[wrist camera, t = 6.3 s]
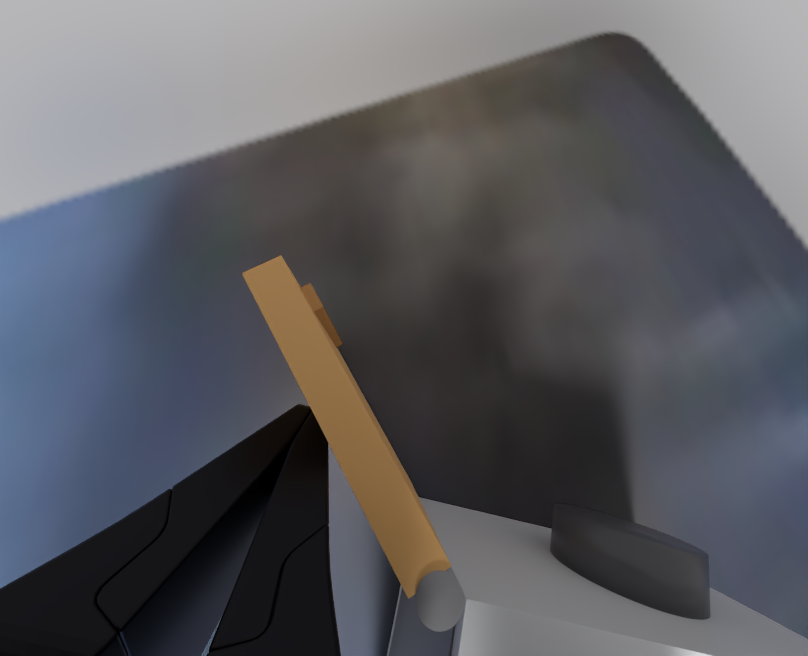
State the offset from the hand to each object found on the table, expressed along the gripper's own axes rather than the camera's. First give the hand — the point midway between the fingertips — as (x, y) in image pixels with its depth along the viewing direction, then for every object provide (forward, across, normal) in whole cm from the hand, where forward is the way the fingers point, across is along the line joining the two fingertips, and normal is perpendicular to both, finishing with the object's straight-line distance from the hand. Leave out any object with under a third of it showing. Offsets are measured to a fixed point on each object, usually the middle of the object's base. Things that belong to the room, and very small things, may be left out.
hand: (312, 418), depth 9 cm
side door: (+4, -1, +3) cm, 6 cm away
